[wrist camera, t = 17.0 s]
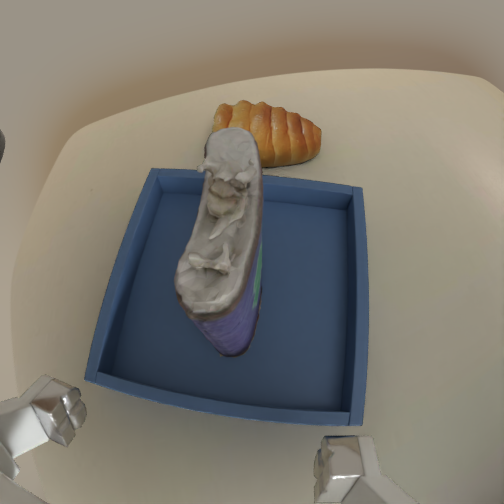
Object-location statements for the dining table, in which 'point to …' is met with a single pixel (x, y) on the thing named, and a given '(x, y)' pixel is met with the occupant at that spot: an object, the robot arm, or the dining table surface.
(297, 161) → the pastry
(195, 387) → the blue tray
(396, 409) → the dining table surface
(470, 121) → the dining table surface
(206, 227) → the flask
